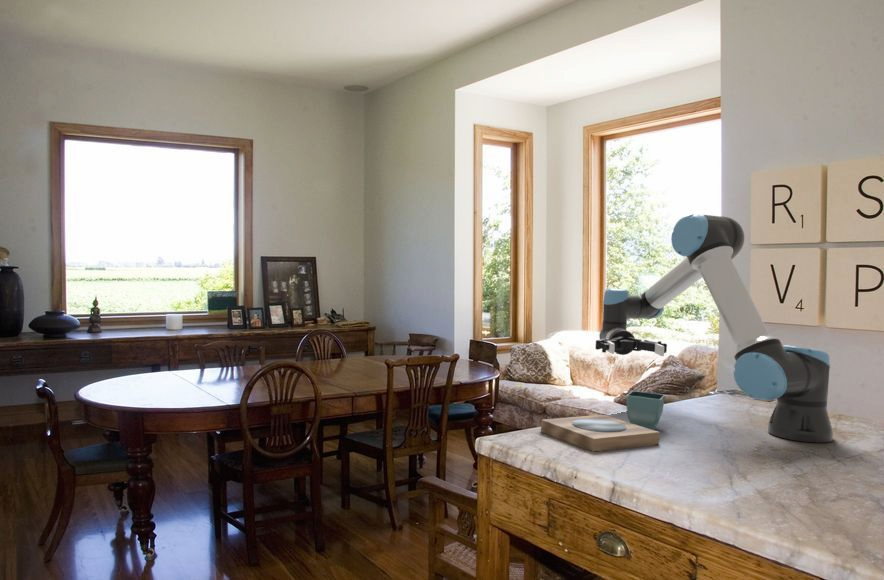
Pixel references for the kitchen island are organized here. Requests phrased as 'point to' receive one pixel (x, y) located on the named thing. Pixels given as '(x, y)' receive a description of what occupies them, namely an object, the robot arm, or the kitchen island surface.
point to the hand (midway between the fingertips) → (637, 350)
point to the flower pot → (644, 408)
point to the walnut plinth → (599, 432)
